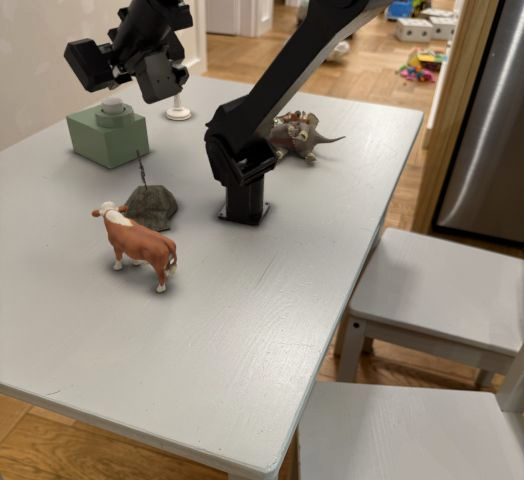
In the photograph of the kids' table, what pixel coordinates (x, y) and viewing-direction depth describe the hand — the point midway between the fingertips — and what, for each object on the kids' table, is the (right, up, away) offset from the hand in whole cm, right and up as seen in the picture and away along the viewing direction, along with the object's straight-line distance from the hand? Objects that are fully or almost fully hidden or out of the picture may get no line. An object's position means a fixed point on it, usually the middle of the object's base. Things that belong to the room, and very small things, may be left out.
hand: (109, 87), depth 80 cm
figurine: (+30, -4, +14) cm, 33 cm away
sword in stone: (+8, -22, -5) cm, 24 cm away
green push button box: (-2, -7, +9) cm, 12 cm away
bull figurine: (+8, -32, -15) cm, 36 cm away
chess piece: (+7, +6, +22) cm, 24 cm away
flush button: (0, -3, +3) cm, 4 cm away
